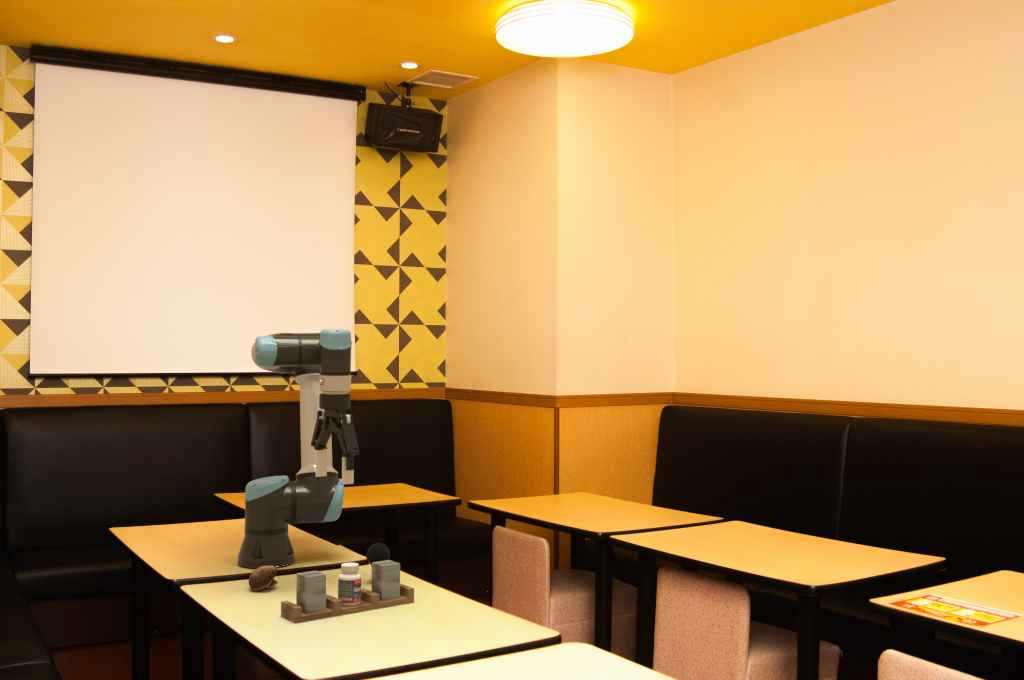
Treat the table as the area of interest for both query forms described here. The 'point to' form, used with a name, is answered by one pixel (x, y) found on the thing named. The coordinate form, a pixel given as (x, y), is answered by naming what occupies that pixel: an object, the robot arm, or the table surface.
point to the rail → (321, 605)
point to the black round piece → (378, 553)
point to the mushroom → (263, 578)
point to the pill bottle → (349, 584)
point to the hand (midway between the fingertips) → (334, 480)
